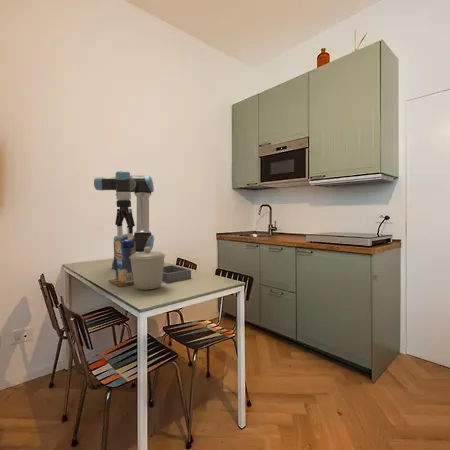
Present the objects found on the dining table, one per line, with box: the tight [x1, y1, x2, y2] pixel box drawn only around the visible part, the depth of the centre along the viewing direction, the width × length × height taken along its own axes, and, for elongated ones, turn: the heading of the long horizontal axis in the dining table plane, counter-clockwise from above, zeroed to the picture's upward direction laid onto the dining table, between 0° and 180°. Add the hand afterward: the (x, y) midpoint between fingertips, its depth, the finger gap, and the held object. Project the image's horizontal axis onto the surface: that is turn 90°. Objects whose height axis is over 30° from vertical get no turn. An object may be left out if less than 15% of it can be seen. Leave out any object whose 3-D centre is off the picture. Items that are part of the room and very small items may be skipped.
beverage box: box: [115, 240, 137, 283], centre depth 161 cm, size 7×11×22 cm, turn 42°
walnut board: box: [107, 278, 135, 288], centre depth 161 cm, size 16×14×1 cm
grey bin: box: [162, 264, 192, 284], centre depth 171 cm, size 20×16×5 cm
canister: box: [129, 247, 167, 291], centre depth 149 cm, size 18×18×21 cm
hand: (125, 238), depth 160 cm, fingers open, 13 cm apart
